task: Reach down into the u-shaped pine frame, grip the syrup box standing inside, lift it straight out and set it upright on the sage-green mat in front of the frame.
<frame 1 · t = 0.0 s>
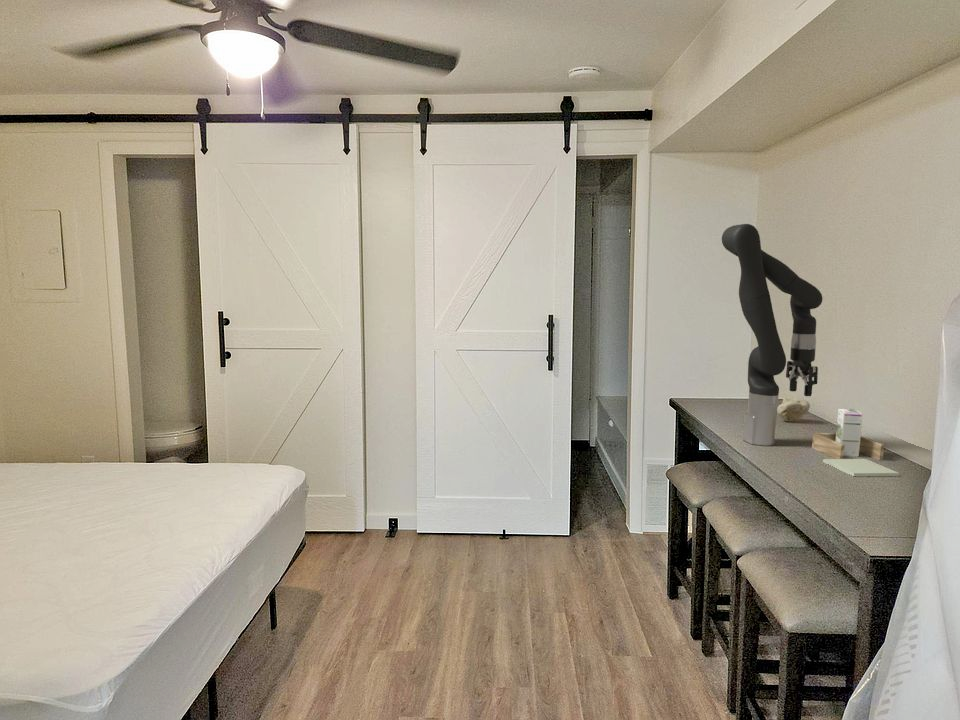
hand: (800, 393, 219), 17 cm above the table, tool pointing down, fingers open, 8 cm apart
syrup box: (845, 454, 209), on the table
decorative item: (791, 422, 253), on the table
sage mat: (859, 469, 192), on the table
u-shaped pine frame: (846, 453, 209), on the table
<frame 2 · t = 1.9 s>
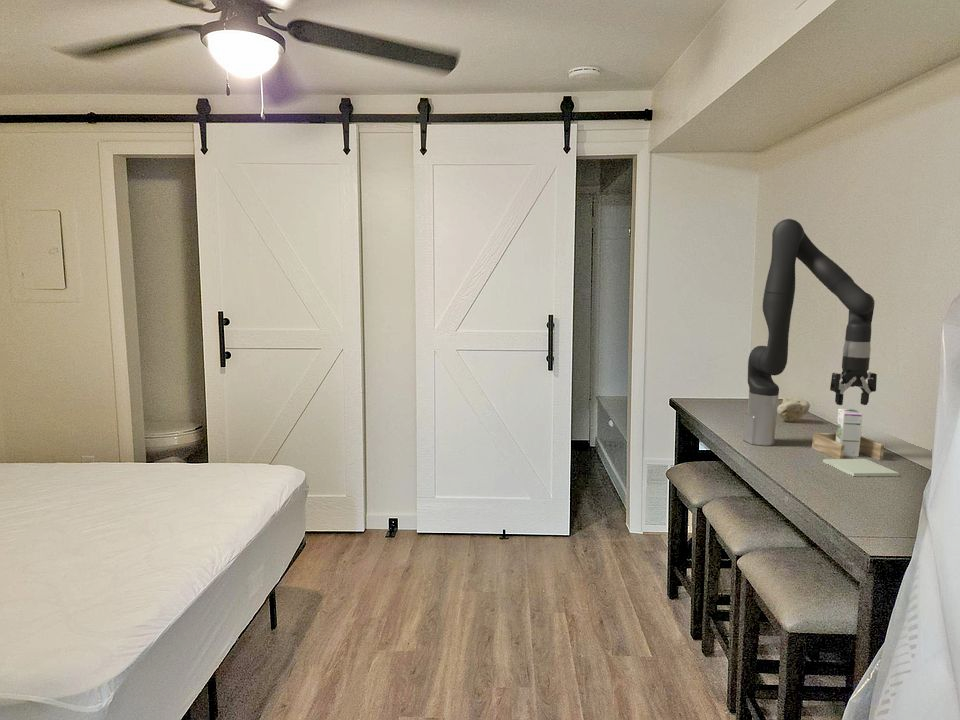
hand: (851, 404, 207), 16 cm above the table, tool pointing down, fingers open, 8 cm apart
nothing on the table moved.
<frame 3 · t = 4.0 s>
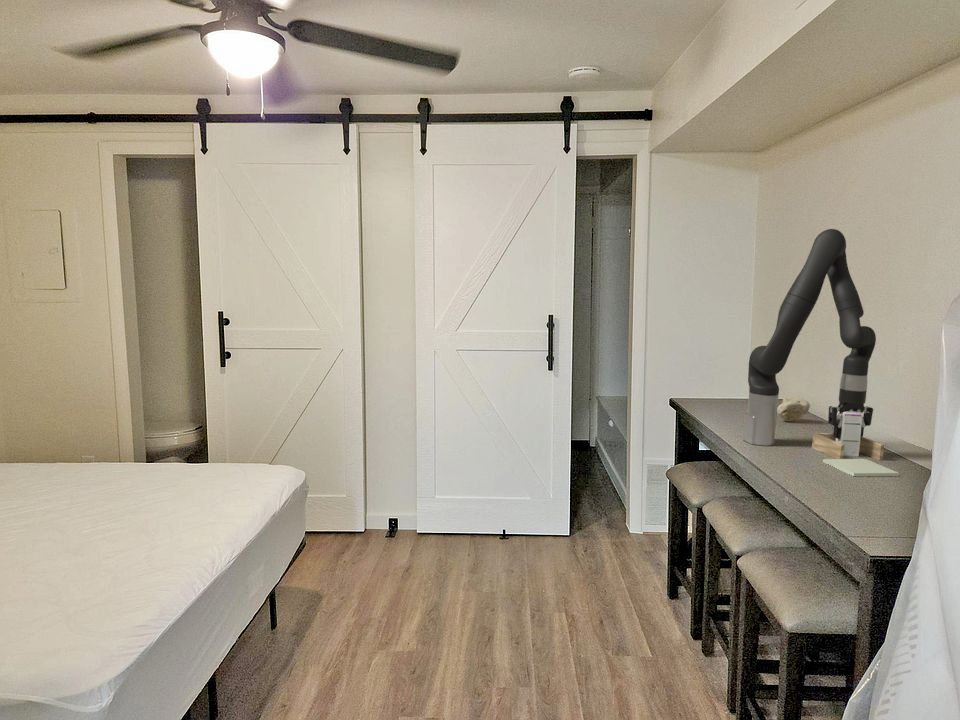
hand: (847, 438, 208), 5 cm above the table, tool pointing down, fingers closed on syrup box, 6 cm apart
syrup box: (845, 454, 209), on the table, touching gripper
everything else where it was.
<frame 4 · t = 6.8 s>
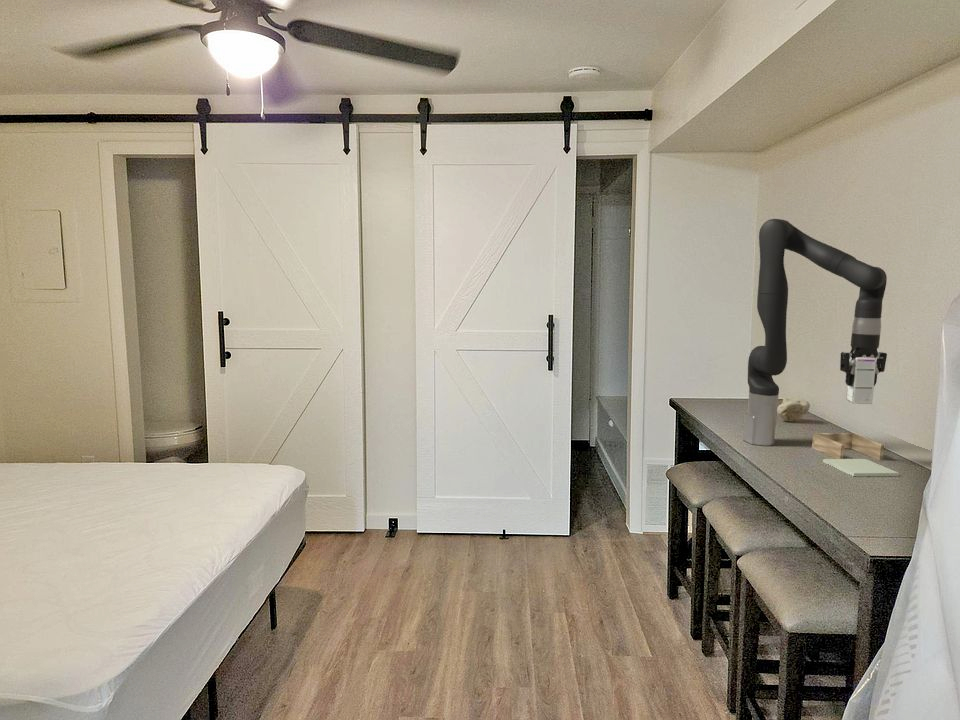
hand: (860, 385, 198), 24 cm above the table, tool pointing down, fingers closed on syrup box, 6 cm apart
syrup box: (858, 402, 199), point 18 cm above the table, touching gripper
everything else where it was.
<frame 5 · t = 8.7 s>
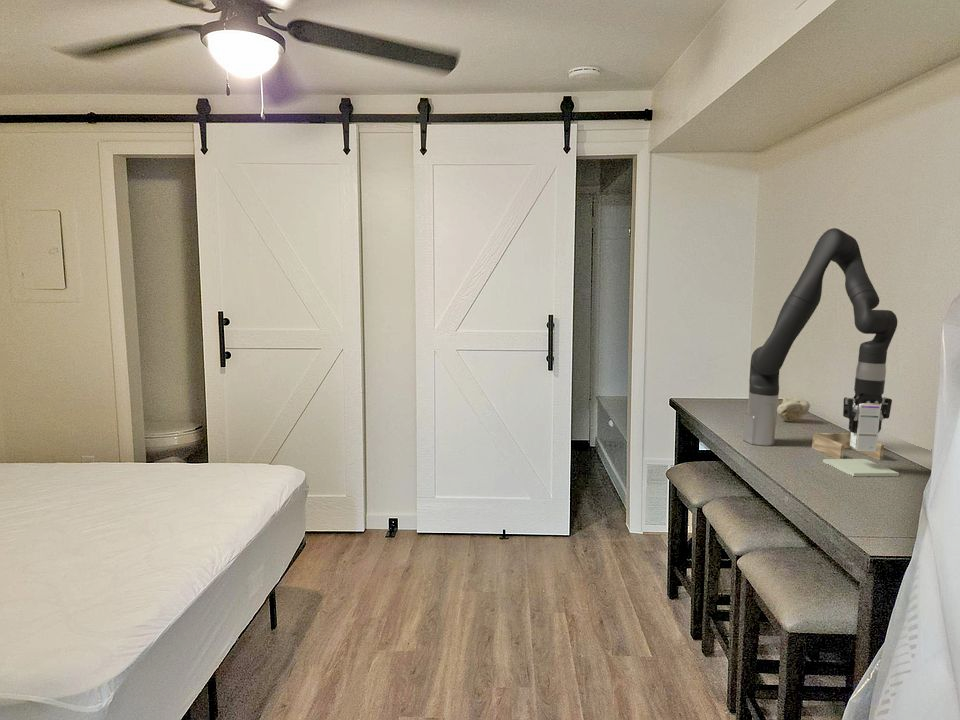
hand: (864, 432, 191), 11 cm above the table, tool pointing down, fingers closed on syrup box, 6 cm apart
syrup box: (862, 449, 192), point 6 cm above the table, touching gripper
everything else where it was.
when the fingers open (8 cm above the table, at t = 10.1 s): syrup box drops 1 cm, resting on sage mat.
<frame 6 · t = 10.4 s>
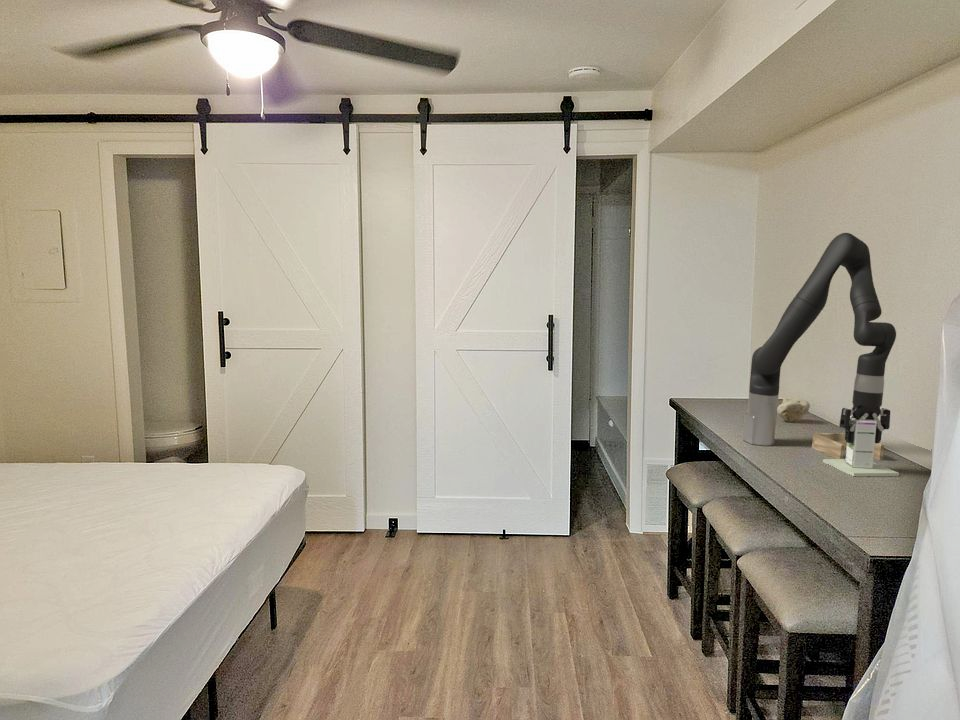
hand: (862, 442, 191), 8 cm above the table, tool pointing down, fingers open, 8 cm apart
syrup box: (858, 466, 192), point 1 cm above the table, touching sage mat
everything else where it was.
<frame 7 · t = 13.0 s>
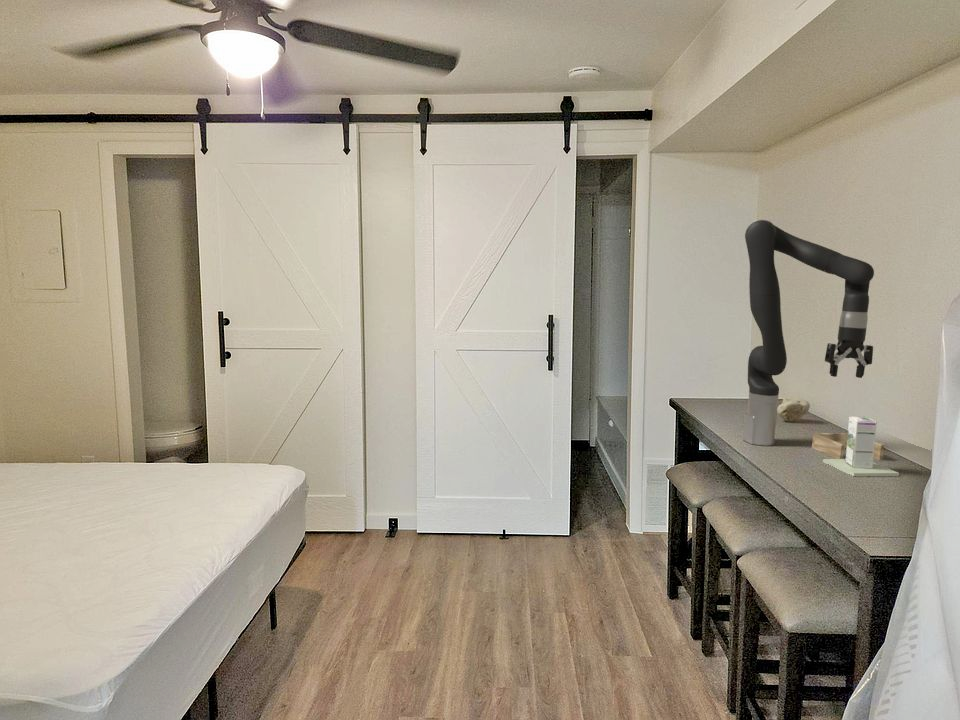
hand: (846, 376, 203), 26 cm above the table, tool pointing down, fingers open, 8 cm apart
nothing on the table moved.
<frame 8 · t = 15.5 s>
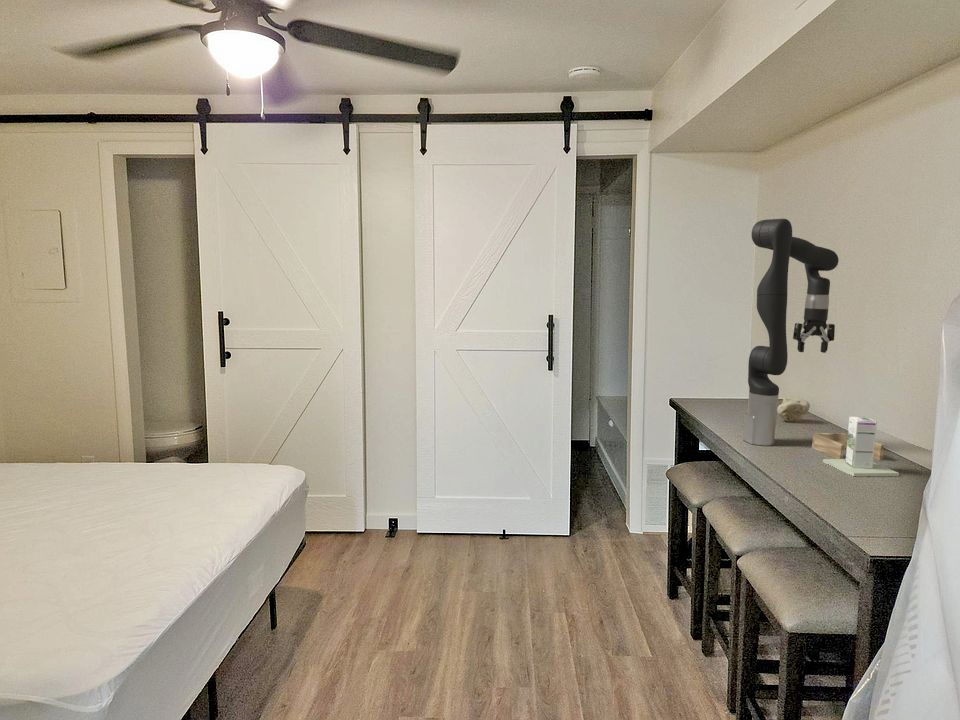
hand: (812, 352, 230), 30 cm above the table, tool pointing down, fingers open, 8 cm apart
nothing on the table moved.
at the end: syrup box inside the target area on the sage mat (0.4 cm from its centre), point 0.8 cm above the sage mat's base; syrup box tilted 0°; the gripper is holding nothing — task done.
